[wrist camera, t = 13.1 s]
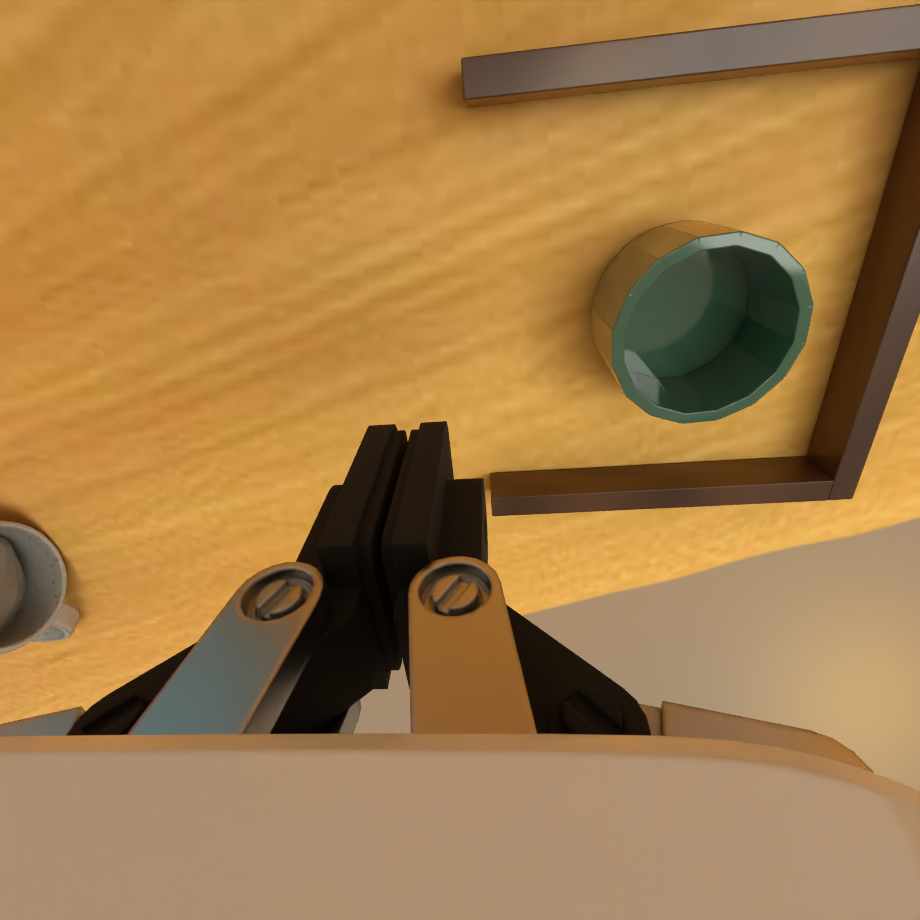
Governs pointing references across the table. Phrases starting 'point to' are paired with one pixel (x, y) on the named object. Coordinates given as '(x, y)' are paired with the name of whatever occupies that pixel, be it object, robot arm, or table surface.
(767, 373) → the green cup
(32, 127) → the table surface
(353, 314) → the table surface
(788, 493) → the walnut bay
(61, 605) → the ceramic mug
